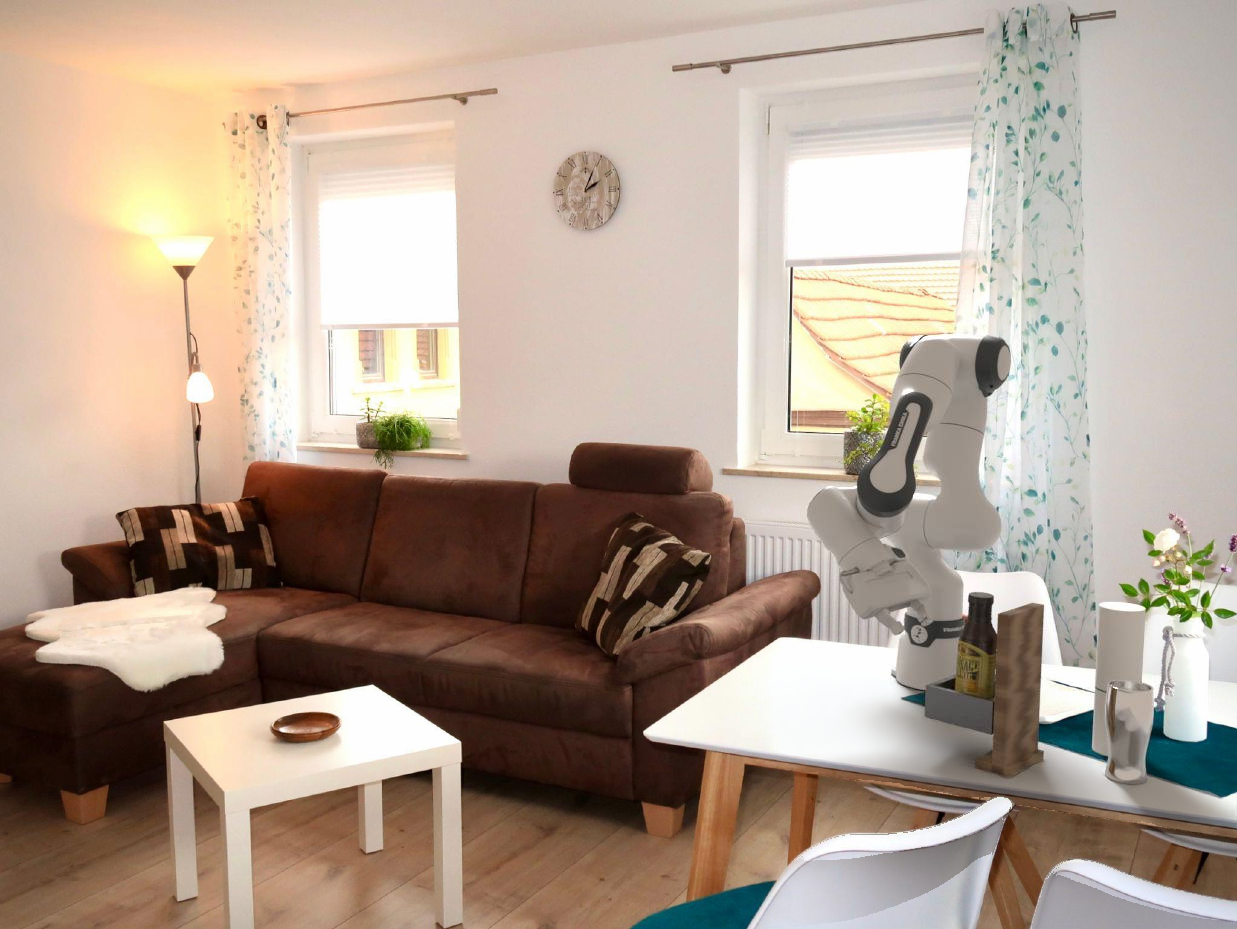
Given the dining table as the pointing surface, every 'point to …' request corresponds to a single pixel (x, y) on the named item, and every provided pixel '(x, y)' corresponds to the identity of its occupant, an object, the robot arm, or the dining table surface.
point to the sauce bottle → (977, 649)
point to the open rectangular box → (958, 706)
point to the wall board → (1016, 692)
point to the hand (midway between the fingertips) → (914, 628)
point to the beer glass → (1128, 729)
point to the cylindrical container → (1116, 658)
